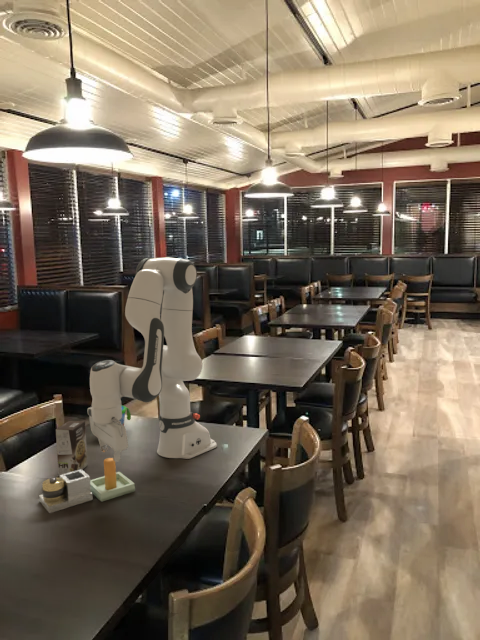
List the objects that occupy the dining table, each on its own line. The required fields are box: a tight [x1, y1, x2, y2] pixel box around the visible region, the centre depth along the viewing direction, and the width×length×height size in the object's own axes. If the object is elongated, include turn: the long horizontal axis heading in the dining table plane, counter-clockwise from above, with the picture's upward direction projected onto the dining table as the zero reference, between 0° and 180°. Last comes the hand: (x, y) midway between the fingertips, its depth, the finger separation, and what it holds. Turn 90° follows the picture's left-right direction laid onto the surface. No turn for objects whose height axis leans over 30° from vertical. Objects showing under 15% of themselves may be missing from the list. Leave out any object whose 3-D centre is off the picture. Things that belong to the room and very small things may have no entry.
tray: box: [90, 471, 136, 502], centre depth 167 cm, size 11×11×2 cm
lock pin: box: [103, 457, 117, 490], centre depth 167 cm, size 4×4×9 cm
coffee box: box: [55, 420, 88, 476], centre depth 181 cm, size 9×6×16 cm
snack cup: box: [119, 404, 132, 426], centre depth 217 cm, size 16×10×10 cm
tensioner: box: [38, 469, 94, 514], centre depth 160 cm, size 13×9×8 cm
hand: (110, 455), depth 166 cm, fingers open, 8 cm apart
